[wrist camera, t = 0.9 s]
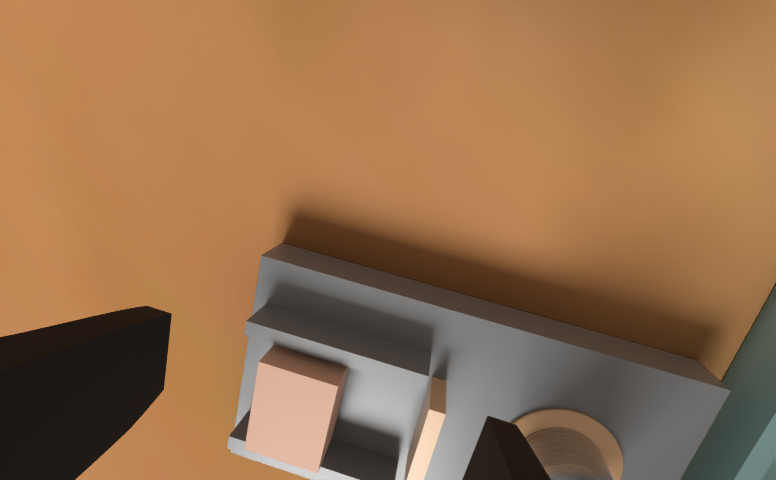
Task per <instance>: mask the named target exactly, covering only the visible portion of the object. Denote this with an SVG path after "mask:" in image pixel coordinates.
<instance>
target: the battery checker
mask: <svg viewBox="0 0 776 480" xmlns="http://www.w3.org/2000/svg"><path fill="white" fill-rule="evenodd" d="M244 335H246V336H249V339H248V345H247V352H246V358H245V365H244V371H243V378H242V384H241V391H240V397H239V404H238V410H237V417H236V423H235V429H234V430H233V432H232V433H231V434H230V436H229V440H228V447H227V448H229V449H231V453H234V454H237V455H240V456H243V457H246V458H249V459H252V460H255V461H258V462H261V463H264V464H267V465H270V466H273V467H275V468H278V469H281V470H284V471H287V472H290V473H293V474H296V475H299V476H302V477H305V478H308V479H311V480H462V479H463V477H464V474H465V472H466V469H467V467H468V464H469V461H470V459H471V456H472V454H473V451H474V449H475V446H476V444H477V441H478V439H479V436H480V434H481V431H482V428H483V426H484V423H485V421H486V418H487V416H491V417H494V418H497V419H500V420H503V421H506V422H509V423H512V424H516V425H517V426H518V428H519V429H520V431H521V432H522V434H523V435H524V437H527V436H528V435H529V434H531V433H533V432H535V431H537V430H541V429H544V428H550V427H562V428H569V429H573V430H575V431H578V432H580V433H582V434H584V435H586V436H587V437H589V438H590V439H591V440H592V441H593V442H594V443H595V444H596V445H597V446H598V448H599V449H600V451H601V453H602V456H603V458H604V460H605V462H606V464H607V466H608V468H609V470H610V472H611V475H612V477H613V479H614V480H680V479H681V477H682V475H683V474H684V472H685V470H686V468H687V467H688V465H689V463H690V461H691V460H692V458H693V456H694V454H695V453H696V451H697V449H698V447H699V446H700V444H701V442H702V441H703V439H704V437H705V435H706V434H707V432H708V430H709V428H710V427H711V425H712V423H713V421H714V420H715V418H716V416H717V414H718V413H719V411H720V409H721V407H722V406H723V404H724V402H725V400H726V399H727V397H728V395H729V393H730V392H731V390H730V389H729V388H728V387H727V386H726V385H724V384H723V383H722V382H721V381H720V380H719V379H718V378H717V377H716V376H715V375H713V374H712V373H711V372H710V371H709V370H708V369H707V368H706V367H705V366H703V365H702V364H701V363H700V362H699V361H698V360H695V359H691V358H688V357H684V356H681V355H677V354H673V353H670V352H666V351H663V350H659V349H656V348H652V347H649V346H645V345H642V344H638V343H635V342H631V341H628V340H624V339H620V338H617V337H613V336H610V335H606V334H603V333H599V332H596V331H592V330H589V329H585V328H582V327H578V326H575V325H571V324H567V323H564V322H560V321H557V320H553V319H550V318H546V317H543V316H539V315H536V314H532V313H529V312H525V311H522V310H518V309H514V308H511V307H507V306H504V305H500V304H497V303H493V302H490V301H486V300H483V299H479V298H476V297H472V296H468V295H465V294H461V293H458V292H454V291H451V290H447V289H444V288H440V287H437V286H433V285H430V284H426V283H423V282H419V281H415V280H412V279H408V278H405V277H401V276H398V275H394V274H391V273H387V272H384V271H380V270H377V269H373V268H370V267H366V266H362V265H359V264H355V263H352V262H348V261H345V260H341V259H338V258H334V257H331V256H327V255H324V254H320V253H317V252H313V251H309V250H306V249H302V248H299V247H295V246H292V245H288V244H285V243H281V244H279V245H278V246H276V247H274V248H273V249H271V250H270V251H268V252H266V253H265V254H263V255H261V261H260V268H259V274H258V281H257V287H256V294H255V300H254V307H253V313H252V316H251V317H250V318H249V319H248V320H247V321H246V327H245V333H244ZM274 344H275V345H279V346H282V347H285V348H288V349H292V350H295V351H298V352H301V353H305V354H308V355H311V356H314V357H318V358H321V359H324V360H327V361H331V362H334V363H337V364H340V365H344V366H347V367H349V370H348V375H347V379H346V383H345V387H344V391H343V395H342V399H341V403H340V408H339V412H338V416H337V420H336V424H335V428H334V432H333V436H332V439H331V441H330V444H329V446H328V449H327V451H326V454H325V456H324V459H323V461H322V464H321V466H320V469H319V471H318V474H317V473H314V472H311V471H308V470H305V469H302V468H299V467H296V466H293V465H290V464H287V463H284V462H281V461H278V460H275V459H272V458H269V457H266V456H263V455H260V454H257V453H254V452H251V451H248V450H245V449H244V448H245V442H246V436H247V430H248V424H249V418H250V412H251V406H252V400H253V394H254V388H255V382H256V376H257V370H258V364H259V361H260V360H261V359H262V358H263V356H264V355H265V354H266V353H267V352H268V351H269V349H270V348H271V347H272V346H273V345H274Z"/></svg>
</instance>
